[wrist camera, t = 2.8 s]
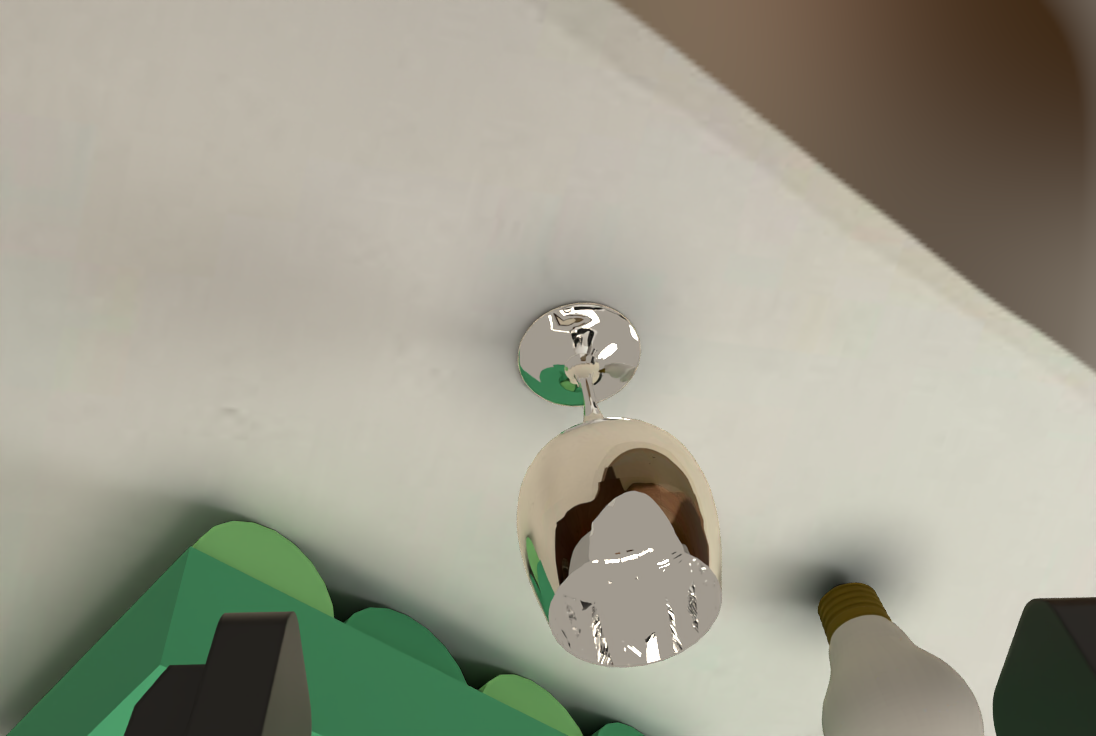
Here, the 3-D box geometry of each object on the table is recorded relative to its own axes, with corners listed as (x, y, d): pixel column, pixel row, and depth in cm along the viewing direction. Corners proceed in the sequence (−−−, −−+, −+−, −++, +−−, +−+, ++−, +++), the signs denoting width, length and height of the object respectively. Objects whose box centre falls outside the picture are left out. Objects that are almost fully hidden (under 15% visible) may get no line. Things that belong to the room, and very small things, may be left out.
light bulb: (906, 620, 48) (1007, 822, 39) (779, 646, 48) (853, 854, 40) (907, 528, 44) (1018, 730, 36) (770, 557, 44) (850, 764, 36)
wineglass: (517, 273, 35) (555, 518, 25) (678, 299, 36) (773, 541, 27) (484, 409, 38) (506, 673, 29) (633, 427, 40) (704, 687, 30)
